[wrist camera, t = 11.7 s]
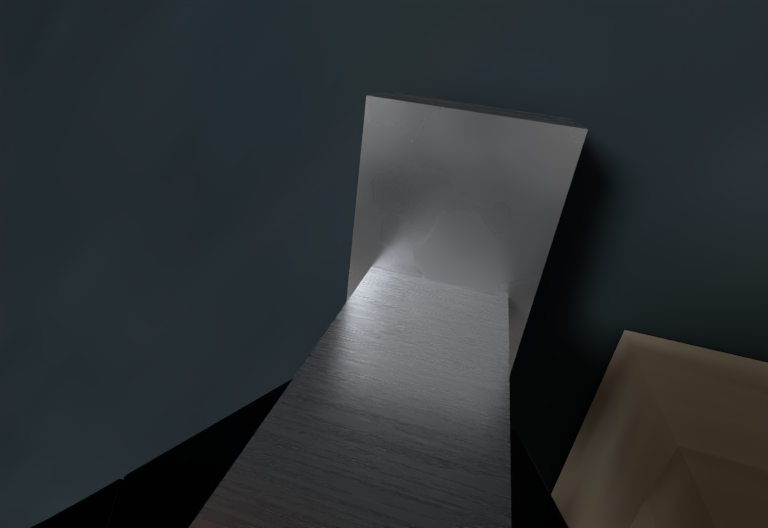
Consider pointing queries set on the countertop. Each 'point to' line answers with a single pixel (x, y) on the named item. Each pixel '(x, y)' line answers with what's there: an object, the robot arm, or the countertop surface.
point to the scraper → (416, 330)
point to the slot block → (671, 441)
